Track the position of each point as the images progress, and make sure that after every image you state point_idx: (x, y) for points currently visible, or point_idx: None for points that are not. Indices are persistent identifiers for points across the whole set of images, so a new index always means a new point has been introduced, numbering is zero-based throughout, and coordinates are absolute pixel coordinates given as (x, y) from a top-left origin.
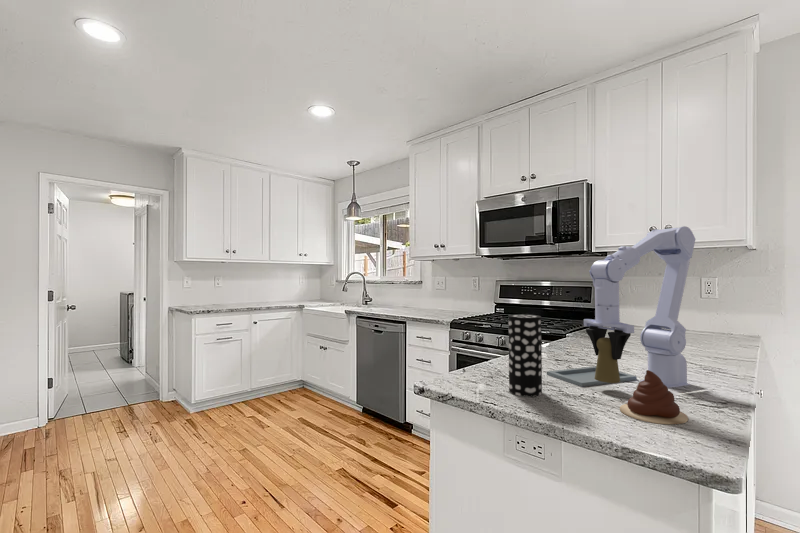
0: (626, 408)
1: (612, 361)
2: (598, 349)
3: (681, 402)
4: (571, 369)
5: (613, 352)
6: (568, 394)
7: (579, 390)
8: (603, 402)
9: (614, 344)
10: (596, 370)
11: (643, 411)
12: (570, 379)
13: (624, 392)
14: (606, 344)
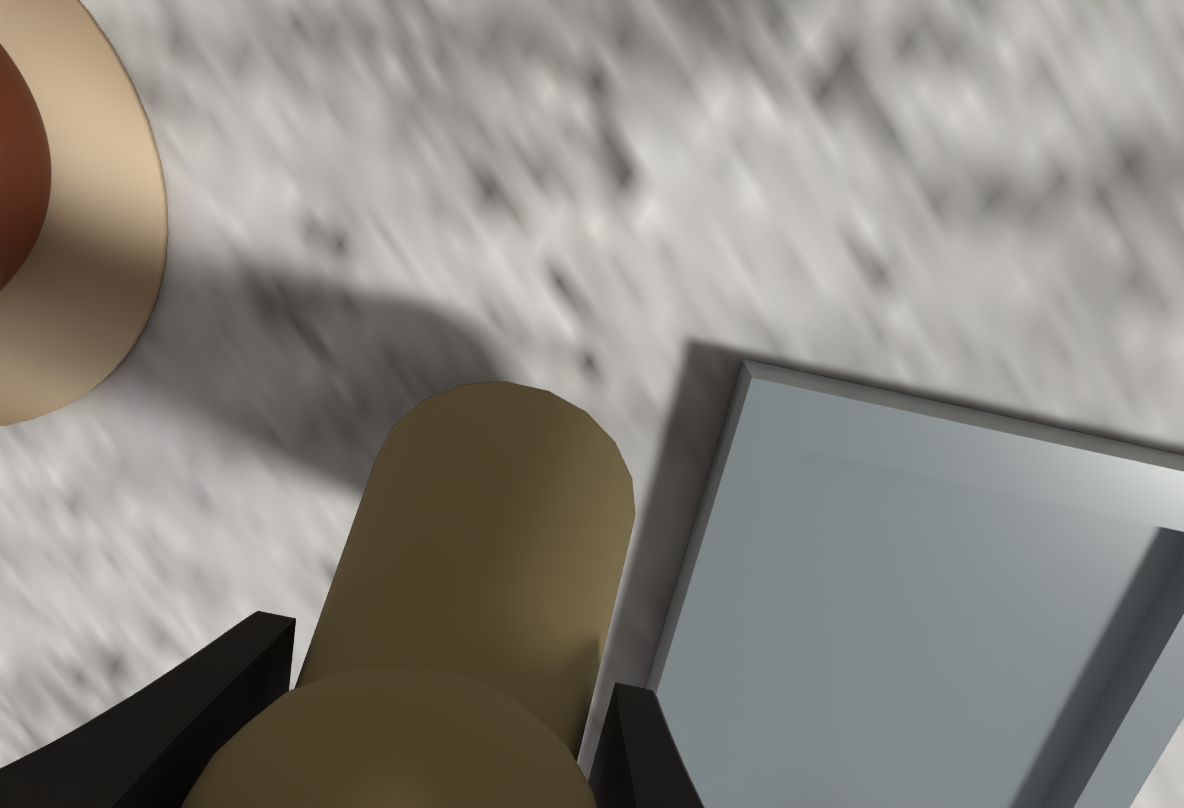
0: (55, 70)
1: (324, 604)
2: (608, 783)
3: (53, 656)
4: (1122, 765)
5: (191, 667)
6: (706, 34)
7: (721, 284)
8: (326, 103)
9: (18, 769)
10: (569, 471)
11: None
12: (919, 412)
13: None
14: (256, 764)
